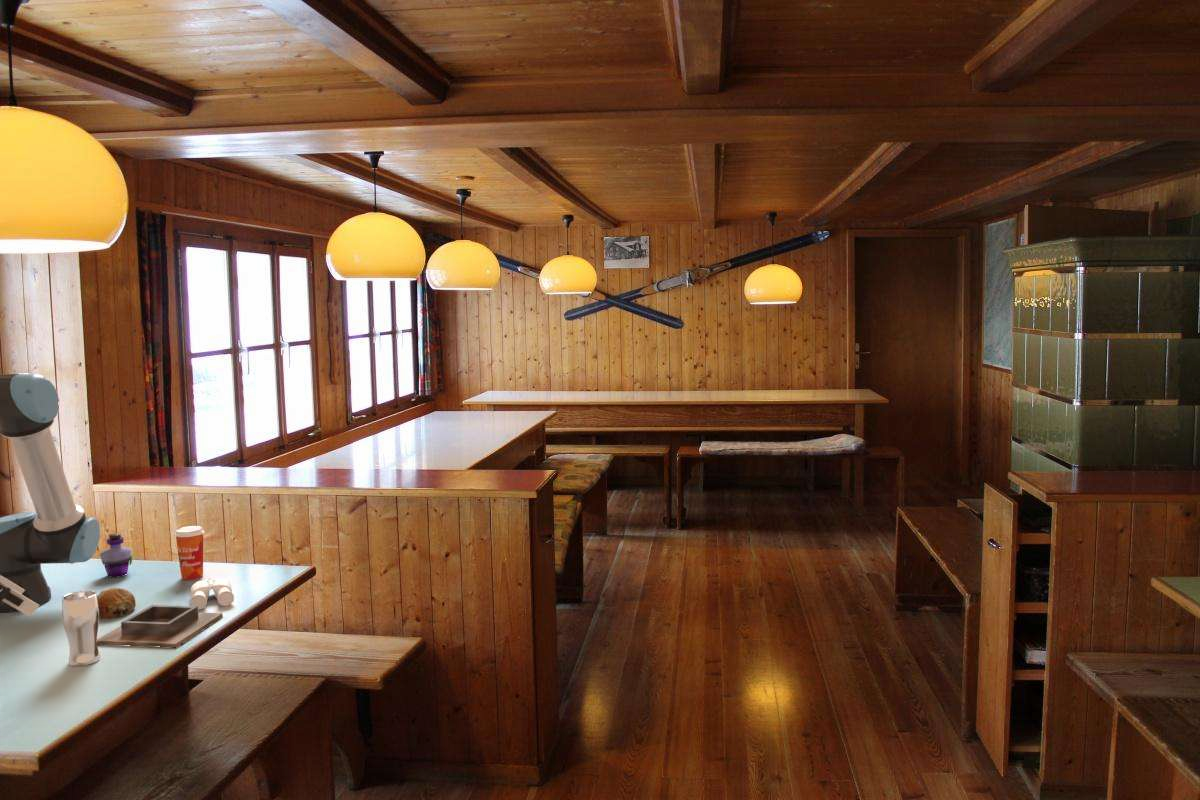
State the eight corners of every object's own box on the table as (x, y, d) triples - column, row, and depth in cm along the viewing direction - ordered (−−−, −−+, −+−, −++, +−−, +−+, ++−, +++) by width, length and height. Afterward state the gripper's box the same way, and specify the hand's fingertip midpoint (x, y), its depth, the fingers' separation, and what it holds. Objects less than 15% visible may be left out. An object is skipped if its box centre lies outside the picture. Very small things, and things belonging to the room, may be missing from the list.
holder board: (95, 644, 213) (93, 628, 212) (148, 614, 232) (146, 599, 232) (176, 648, 210) (174, 631, 210) (222, 617, 230) (221, 601, 229)
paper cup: (172, 581, 259) (169, 532, 257) (185, 572, 267) (182, 525, 265) (199, 581, 259) (196, 532, 257) (212, 572, 266) (209, 525, 265)
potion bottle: (138, 574, 265) (135, 534, 264) (106, 581, 260) (102, 539, 258) (129, 568, 272) (126, 528, 270) (96, 574, 266) (93, 534, 264)
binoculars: (190, 612, 235) (189, 594, 234) (190, 593, 249) (189, 577, 248) (234, 606, 239) (233, 588, 238) (231, 588, 253) (230, 571, 253)
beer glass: (91, 667, 200) (85, 600, 198) (59, 667, 200) (53, 600, 198) (109, 654, 207) (103, 589, 205) (78, 654, 207) (72, 590, 205)
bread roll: (137, 619, 240) (136, 588, 242) (133, 614, 231) (132, 582, 233) (94, 624, 236) (94, 593, 238) (88, 620, 227) (88, 587, 229)
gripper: (-91, 550, 190) (1, 603, 202) (-74, 576, 172) (26, 633, 184) (-62, 520, 193) (27, 574, 205) (-42, 543, 175) (54, 601, 187)
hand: (27, 602), depth 195 cm, fingers open, 13 cm apart
